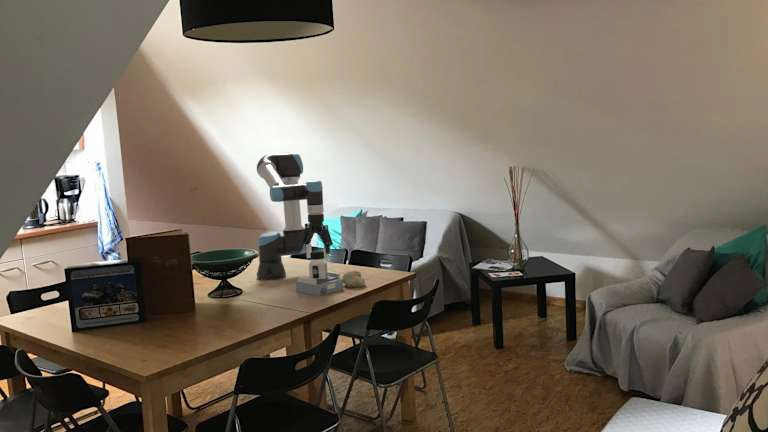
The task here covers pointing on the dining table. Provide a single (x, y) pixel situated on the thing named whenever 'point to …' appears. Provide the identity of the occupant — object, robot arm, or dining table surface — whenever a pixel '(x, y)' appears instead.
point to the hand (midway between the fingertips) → (318, 258)
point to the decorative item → (353, 279)
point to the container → (317, 265)
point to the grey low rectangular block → (319, 284)
